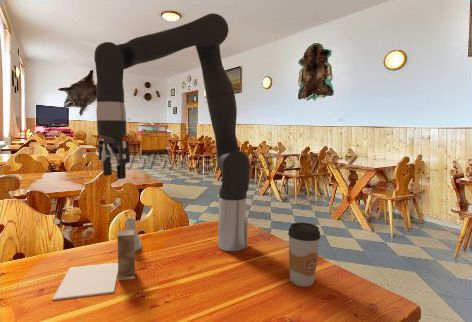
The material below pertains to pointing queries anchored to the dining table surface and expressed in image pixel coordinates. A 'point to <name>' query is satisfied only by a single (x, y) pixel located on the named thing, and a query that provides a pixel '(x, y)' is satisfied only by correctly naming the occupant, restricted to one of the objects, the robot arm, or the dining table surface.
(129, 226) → the flask
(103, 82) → the robot arm
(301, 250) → the coffee cup
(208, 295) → the dining table surface
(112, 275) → the mat
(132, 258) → the grey metallic bar
